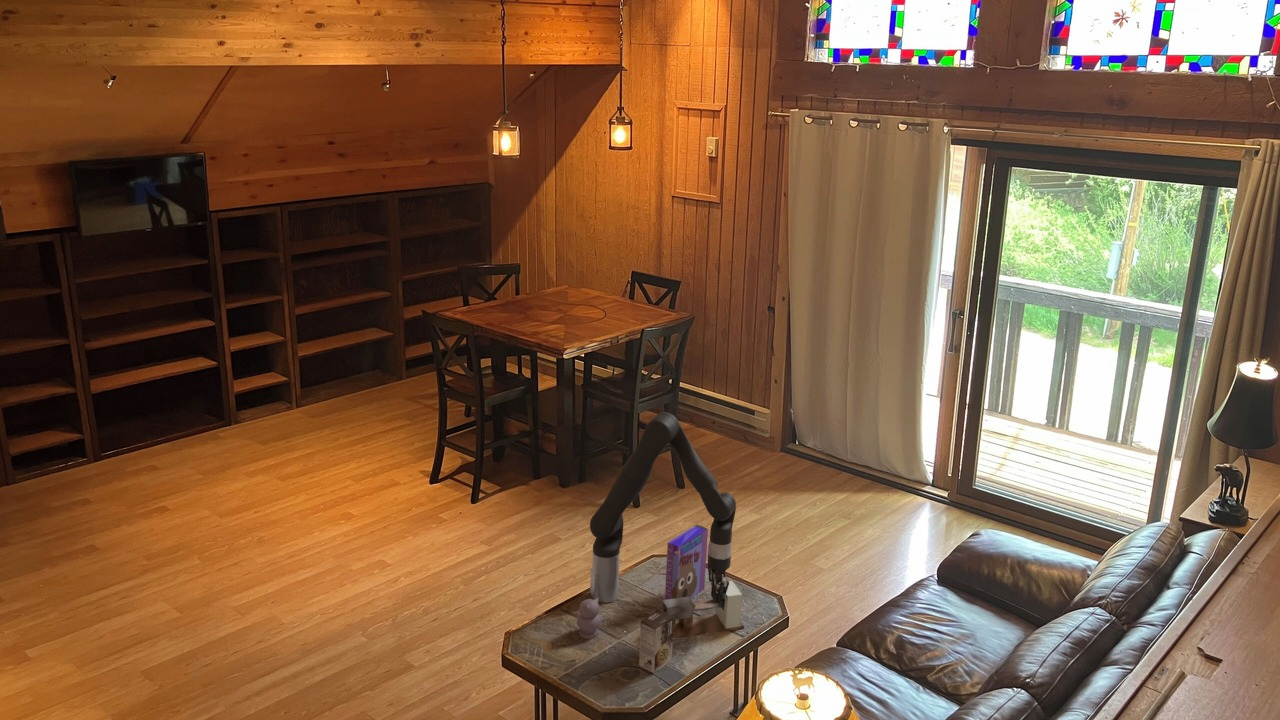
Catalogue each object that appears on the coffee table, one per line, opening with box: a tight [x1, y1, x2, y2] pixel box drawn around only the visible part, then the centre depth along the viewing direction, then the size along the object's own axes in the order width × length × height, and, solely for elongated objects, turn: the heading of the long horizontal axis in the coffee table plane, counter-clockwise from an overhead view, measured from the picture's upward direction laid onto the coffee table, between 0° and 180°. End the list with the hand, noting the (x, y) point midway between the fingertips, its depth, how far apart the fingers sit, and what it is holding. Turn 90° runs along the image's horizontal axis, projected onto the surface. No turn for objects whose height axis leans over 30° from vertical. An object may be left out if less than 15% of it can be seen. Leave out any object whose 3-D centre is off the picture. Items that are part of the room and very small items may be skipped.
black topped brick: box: [692, 584, 725, 612], centre depth 329 cm, size 16×3×8 cm, turn 107°
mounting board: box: [661, 597, 745, 639], centre depth 330 cm, size 27×9×10 cm, turn 107°
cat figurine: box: [576, 598, 603, 640], centre depth 323 cm, size 8×8×12 cm
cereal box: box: [664, 524, 709, 600], centre depth 345 cm, size 17×5×24 cm, turn 143°
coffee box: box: [638, 608, 674, 674], centre depth 308 cm, size 9×6×16 cm
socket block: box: [715, 580, 743, 628], centre depth 332 cm, size 5×9×12 cm, turn 17°
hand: (716, 599), depth 330 cm, fingers closed on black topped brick, 3 cm apart
